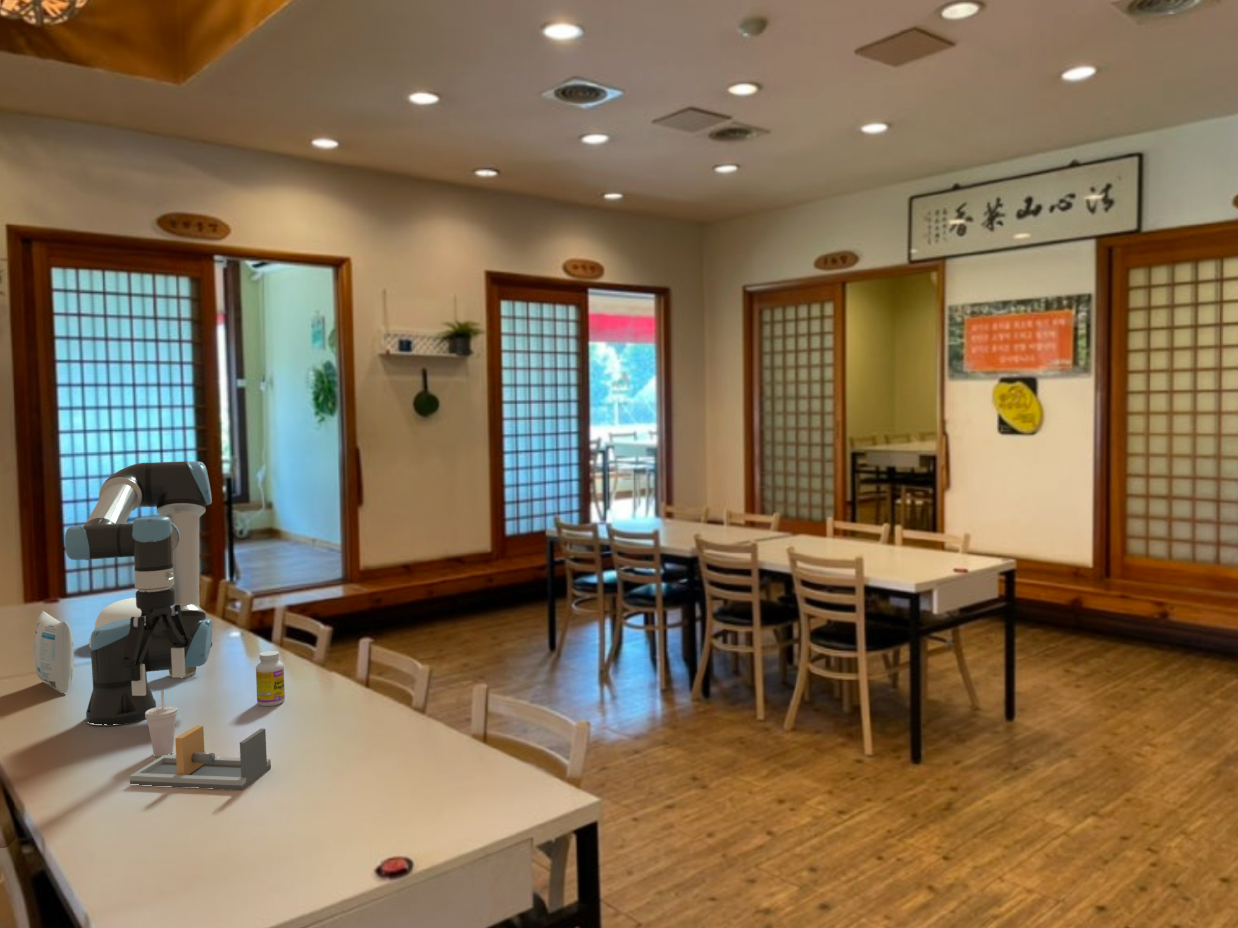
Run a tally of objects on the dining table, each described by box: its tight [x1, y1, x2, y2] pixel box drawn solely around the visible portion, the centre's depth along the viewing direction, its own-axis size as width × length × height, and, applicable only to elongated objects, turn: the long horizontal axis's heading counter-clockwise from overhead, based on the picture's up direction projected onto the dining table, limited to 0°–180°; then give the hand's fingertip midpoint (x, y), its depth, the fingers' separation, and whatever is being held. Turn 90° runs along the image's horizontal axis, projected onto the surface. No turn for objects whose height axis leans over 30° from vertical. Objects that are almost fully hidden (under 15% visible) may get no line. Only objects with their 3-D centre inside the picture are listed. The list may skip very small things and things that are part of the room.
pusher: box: [174, 725, 216, 775], centre depth 187 cm, size 6×7×8 cm
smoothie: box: [145, 689, 178, 757], centre depth 200 cm, size 6×6×14 cm
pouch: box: [33, 610, 75, 694], centre depth 250 cm, size 8×19×20 cm, turn 43°
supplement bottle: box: [255, 650, 286, 707], centre depth 234 cm, size 7×7×13 cm
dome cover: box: [88, 596, 141, 648], centre depth 301 cm, size 32×30×14 cm
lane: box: [129, 728, 272, 791], centre depth 187 cm, size 24×11×9 cm, turn 82°
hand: (159, 685), depth 199 cm, fingers open, 13 cm apart
